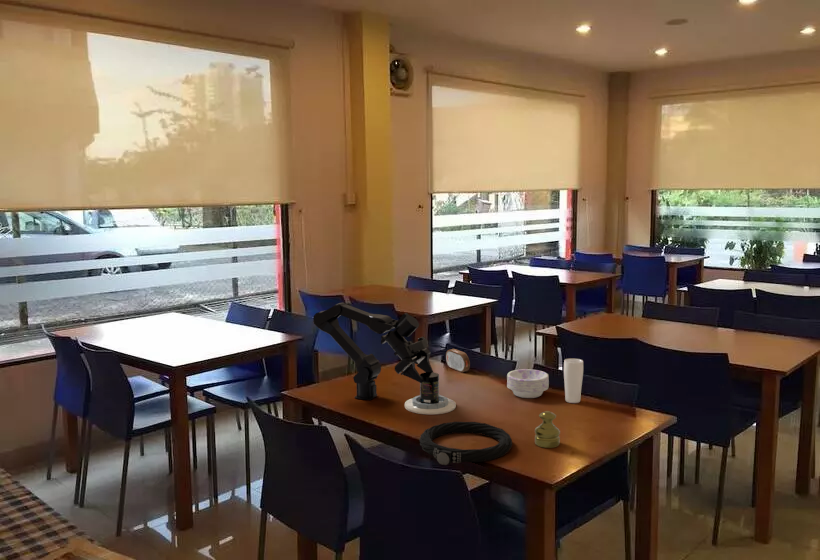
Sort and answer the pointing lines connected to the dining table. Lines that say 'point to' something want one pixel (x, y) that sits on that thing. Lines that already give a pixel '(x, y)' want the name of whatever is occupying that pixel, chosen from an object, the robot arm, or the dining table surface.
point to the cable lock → (469, 455)
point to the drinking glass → (573, 379)
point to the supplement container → (429, 388)
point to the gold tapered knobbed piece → (547, 431)
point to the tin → (457, 360)
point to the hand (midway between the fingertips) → (428, 379)
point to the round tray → (430, 411)
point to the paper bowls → (527, 382)
